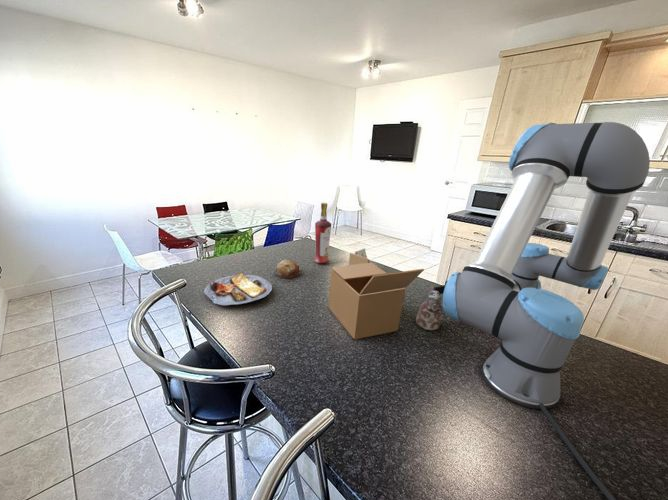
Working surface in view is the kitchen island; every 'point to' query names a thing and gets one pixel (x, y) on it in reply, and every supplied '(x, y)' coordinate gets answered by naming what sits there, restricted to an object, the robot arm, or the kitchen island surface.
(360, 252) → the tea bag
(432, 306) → the figurine
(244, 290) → the food plate
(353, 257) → the sandwich container
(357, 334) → the carton
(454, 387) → the kitchen island surface
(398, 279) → the flap
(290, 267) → the bread roll
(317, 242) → the liquor
